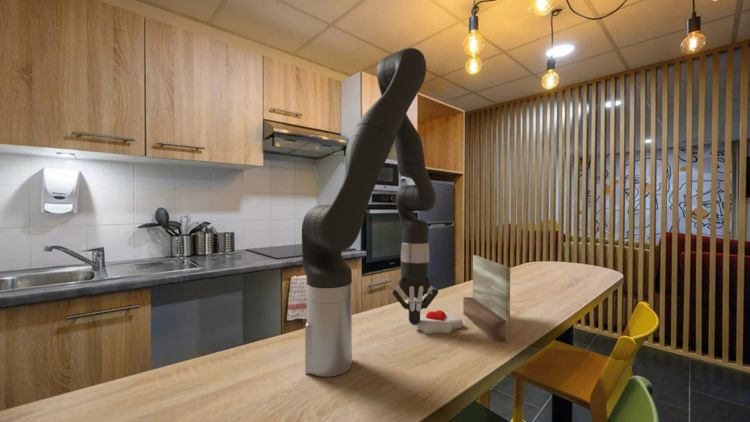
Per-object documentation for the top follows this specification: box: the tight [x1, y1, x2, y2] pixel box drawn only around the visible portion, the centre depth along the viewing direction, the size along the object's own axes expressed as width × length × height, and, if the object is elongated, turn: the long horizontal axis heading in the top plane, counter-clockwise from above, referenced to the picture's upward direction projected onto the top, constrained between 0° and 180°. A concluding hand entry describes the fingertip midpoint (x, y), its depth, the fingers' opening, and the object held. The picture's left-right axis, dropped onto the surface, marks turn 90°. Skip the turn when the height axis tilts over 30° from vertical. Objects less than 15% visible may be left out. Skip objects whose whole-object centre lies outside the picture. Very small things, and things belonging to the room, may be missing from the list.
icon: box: [413, 309, 464, 335], centre depth 85 cm, size 12×4×10 cm
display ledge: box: [462, 254, 511, 342], centre depth 86 cm, size 4×20×18 cm, turn 5°
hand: (414, 323), depth 83 cm, fingers closed
